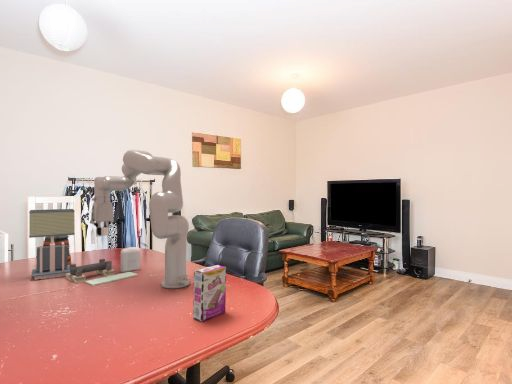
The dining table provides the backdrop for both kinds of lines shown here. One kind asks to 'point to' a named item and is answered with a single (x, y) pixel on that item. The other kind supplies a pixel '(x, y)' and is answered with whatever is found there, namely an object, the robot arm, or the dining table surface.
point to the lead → (89, 268)
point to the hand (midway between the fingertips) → (102, 234)
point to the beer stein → (58, 241)
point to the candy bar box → (209, 292)
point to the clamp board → (81, 278)
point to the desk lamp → (52, 256)
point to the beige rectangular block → (103, 231)
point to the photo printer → (130, 259)
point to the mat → (110, 278)
